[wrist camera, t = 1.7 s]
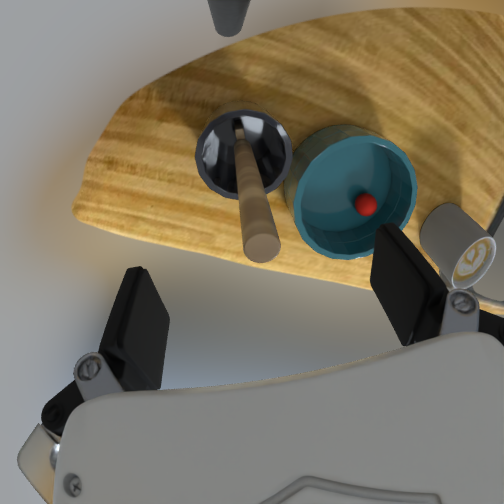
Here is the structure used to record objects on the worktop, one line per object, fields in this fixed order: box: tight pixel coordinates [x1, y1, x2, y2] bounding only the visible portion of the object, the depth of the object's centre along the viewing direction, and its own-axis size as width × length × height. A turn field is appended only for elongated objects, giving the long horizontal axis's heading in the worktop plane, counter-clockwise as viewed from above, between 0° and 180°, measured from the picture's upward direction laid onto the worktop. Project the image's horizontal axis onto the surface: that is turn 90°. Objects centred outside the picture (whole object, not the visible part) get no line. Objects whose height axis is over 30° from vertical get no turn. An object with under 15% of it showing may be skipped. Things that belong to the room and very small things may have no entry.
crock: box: [195, 100, 293, 200], centre depth 27 cm, size 8×8×9 cm
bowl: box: [284, 125, 418, 260], centre depth 32 cm, size 16×16×6 cm
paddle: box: [234, 120, 281, 263], centre depth 21 cm, size 4×2×22 cm, turn 9°
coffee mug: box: [420, 203, 496, 291], centre depth 37 cm, size 13×10×10 cm
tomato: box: [355, 193, 377, 216], centre depth 34 cm, size 3×3×3 cm
